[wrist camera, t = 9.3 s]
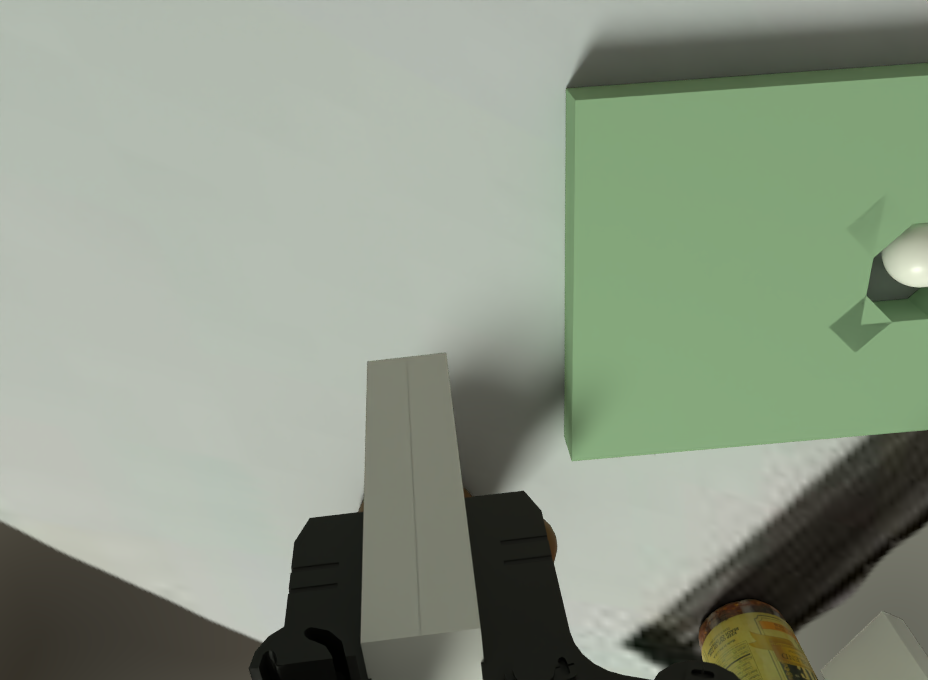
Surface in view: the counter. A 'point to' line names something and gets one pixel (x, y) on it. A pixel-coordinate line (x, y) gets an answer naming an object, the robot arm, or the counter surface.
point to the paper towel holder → (880, 654)
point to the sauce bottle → (753, 643)
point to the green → (742, 260)
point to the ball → (909, 256)
